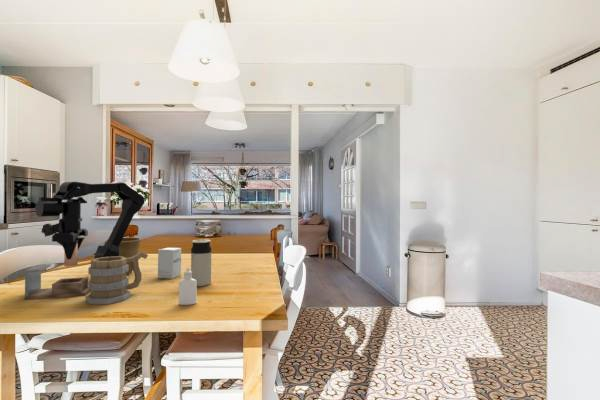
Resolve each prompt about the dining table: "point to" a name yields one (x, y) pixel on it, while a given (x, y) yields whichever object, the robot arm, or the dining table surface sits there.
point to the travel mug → (201, 262)
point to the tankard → (112, 278)
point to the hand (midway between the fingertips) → (71, 258)
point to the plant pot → (129, 249)
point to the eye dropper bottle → (187, 289)
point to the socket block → (53, 285)
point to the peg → (71, 258)
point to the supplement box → (169, 262)
